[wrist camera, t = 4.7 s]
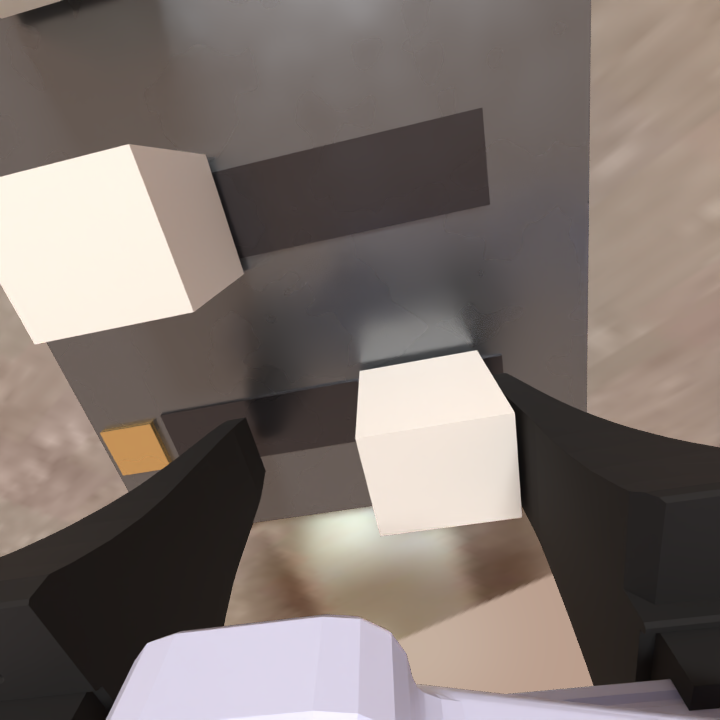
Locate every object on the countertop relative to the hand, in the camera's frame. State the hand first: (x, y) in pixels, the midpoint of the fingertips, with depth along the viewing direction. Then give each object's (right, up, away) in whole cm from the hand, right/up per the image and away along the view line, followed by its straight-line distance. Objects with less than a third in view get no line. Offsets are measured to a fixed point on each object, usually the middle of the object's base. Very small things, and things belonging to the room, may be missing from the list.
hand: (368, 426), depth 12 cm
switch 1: (-5, +5, -1) cm, 8 cm away
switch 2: (+2, +1, +1) cm, 2 cm away
